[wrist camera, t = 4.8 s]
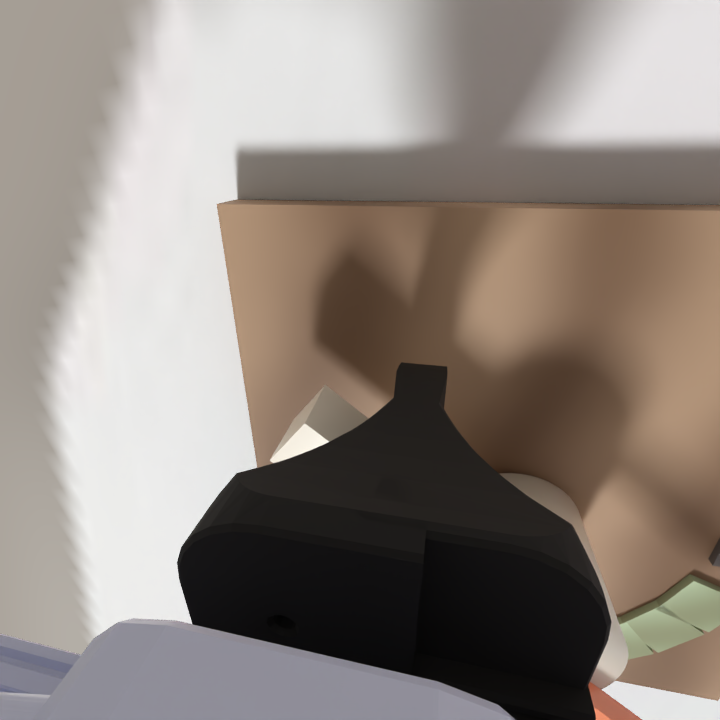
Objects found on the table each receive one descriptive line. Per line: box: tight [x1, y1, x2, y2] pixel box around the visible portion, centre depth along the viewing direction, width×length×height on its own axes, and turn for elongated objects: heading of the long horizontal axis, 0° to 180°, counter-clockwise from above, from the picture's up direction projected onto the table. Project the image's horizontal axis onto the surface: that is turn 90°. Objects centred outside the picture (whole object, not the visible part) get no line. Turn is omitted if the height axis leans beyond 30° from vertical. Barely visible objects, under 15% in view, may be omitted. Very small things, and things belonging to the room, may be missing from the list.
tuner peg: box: [270, 385, 642, 720], centre depth 12 cm, size 16×4×5 cm, turn 52°
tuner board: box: [217, 200, 720, 701], centre depth 14 cm, size 18×18×1 cm
